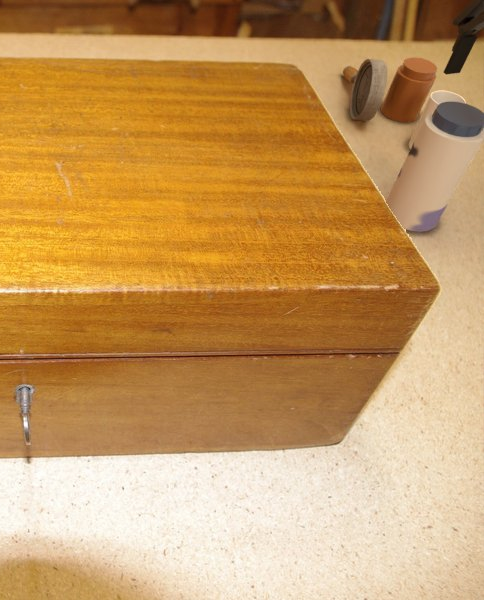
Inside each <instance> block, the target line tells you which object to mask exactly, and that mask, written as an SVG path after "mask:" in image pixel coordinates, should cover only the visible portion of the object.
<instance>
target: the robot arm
mask: <svg viewBox="0 0 484 600" xmlns="http://www.w3.org/2000/svg"><path fill="white" fill-rule="evenodd" d="M452 22H453V23H452V24H453V26H454V27H457V28H458V30H457V33H458V35H457V36H456V39H455V41H454V44H453V45H452V48H451V52H452V53H451V55H450V57H449V59H448V61H447V63H446V66H445V67H444V70H443V74H445V75H454V74H460V73H461V71H462V69H463V67H464V65H465V63H466V61H467V60H468V57H469V55H470V53H471V51H472V49H473V47H474V45H475V43H476V41H477V39H478V36H477V35H476V34H478V33H479V31H480V30H482V29H484V0H472V1H471V2H470V3H469V4H467V6H465V8H464V9H463V10H462V11H461V12H460V13H459V14H458V15H457V16H456V17H455V18H454V19H453V21H452Z"/></svg>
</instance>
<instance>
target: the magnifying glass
mask: <svg viewBox="0 0 484 600" xmlns="http://www.w3.org/2000/svg"><path fill="white" fill-rule="evenodd" d="M342 75H343V77H344V78H345V80H346V81H347V82H348V83H350V84H352V88H351V93H350V99H349V115H350V117H351V119H352V120H355V121H361V122H362V121H363V122H370V121H372V120H373V119H374V117H375V116H376V115H377V113H378V111H379V110H380V108H381V106H382V103H383V100H384V96H385V92H386V88H387V81H388V67H387V64H386V62H385V60H382V59H375V58H374V59H373V58H367V59H365V60H364V61H363V62H361V64H360V66H359V68H358V69H356V67H353V66H351V65H347V66H345V67H344V68H343V70H342Z"/></svg>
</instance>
